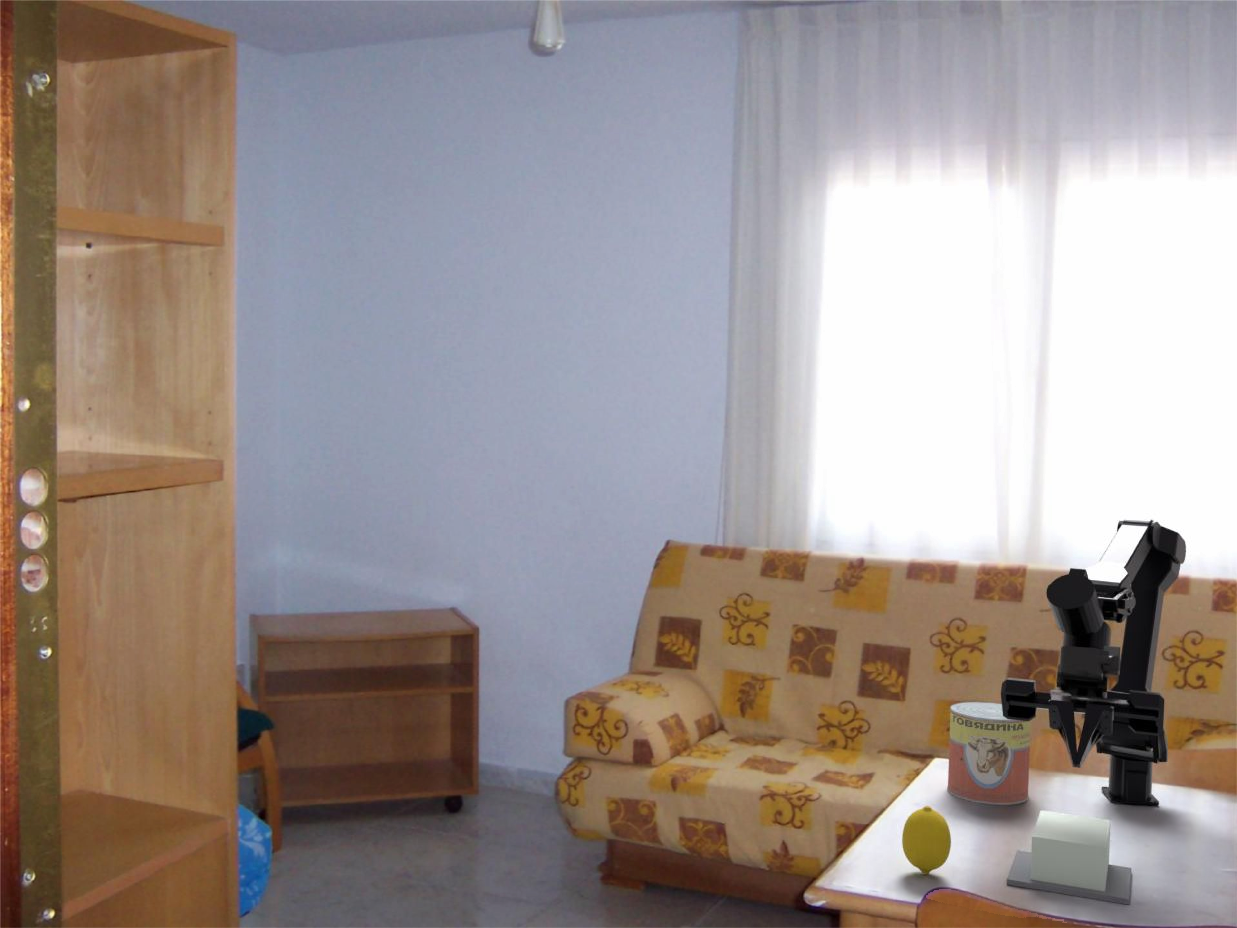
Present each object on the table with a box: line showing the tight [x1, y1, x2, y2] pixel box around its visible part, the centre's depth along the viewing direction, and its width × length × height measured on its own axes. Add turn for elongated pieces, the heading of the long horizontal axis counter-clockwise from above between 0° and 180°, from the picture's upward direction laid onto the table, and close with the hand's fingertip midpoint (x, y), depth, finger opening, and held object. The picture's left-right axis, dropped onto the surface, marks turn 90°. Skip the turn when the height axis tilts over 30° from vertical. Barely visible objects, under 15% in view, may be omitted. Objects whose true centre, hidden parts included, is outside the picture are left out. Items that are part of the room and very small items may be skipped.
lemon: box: [901, 805, 952, 875], centre depth 145 cm, size 6×6×8 cm
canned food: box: [946, 701, 1032, 806], centre depth 179 cm, size 11×11×12 cm
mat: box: [1006, 849, 1132, 905], centre depth 145 cm, size 11×13×1 cm
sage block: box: [1030, 810, 1112, 891], centre depth 146 cm, size 5×8×11 cm
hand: (1076, 765), depth 148 cm, fingers closed
